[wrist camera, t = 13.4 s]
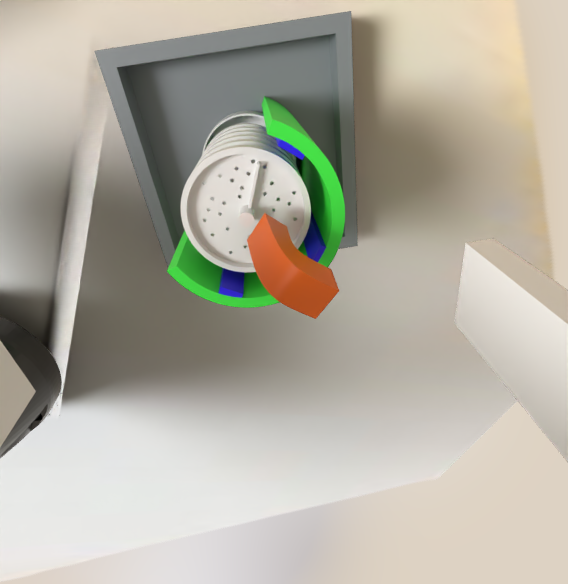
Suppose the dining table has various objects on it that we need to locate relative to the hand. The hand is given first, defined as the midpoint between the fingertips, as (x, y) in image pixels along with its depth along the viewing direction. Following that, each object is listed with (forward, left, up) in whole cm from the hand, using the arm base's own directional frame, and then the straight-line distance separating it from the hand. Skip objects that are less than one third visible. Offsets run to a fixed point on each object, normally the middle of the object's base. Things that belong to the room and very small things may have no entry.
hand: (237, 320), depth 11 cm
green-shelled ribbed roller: (+1, 0, -22) cm, 22 cm away
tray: (0, 0, -22) cm, 22 cm away
